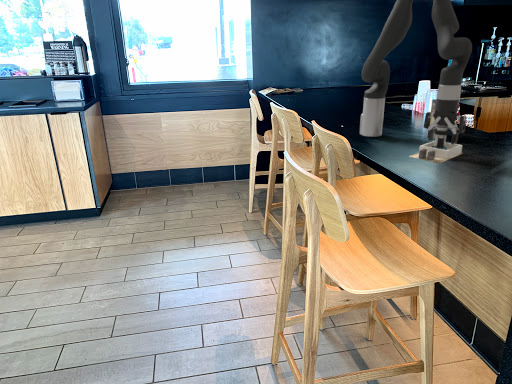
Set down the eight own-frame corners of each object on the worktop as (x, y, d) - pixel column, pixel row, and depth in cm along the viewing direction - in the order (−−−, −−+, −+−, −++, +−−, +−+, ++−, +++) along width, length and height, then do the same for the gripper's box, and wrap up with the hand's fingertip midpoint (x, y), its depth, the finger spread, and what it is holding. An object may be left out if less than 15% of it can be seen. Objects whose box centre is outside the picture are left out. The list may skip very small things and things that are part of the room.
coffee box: (427, 134, 180) (431, 99, 174) (441, 134, 179) (447, 99, 173) (431, 138, 171) (436, 102, 166) (446, 138, 170) (452, 102, 164)
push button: (446, 151, 147) (451, 125, 143) (452, 155, 142) (456, 128, 139) (428, 151, 148) (432, 125, 144) (433, 155, 143) (437, 128, 139)
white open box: (418, 153, 146) (419, 145, 145) (433, 147, 153) (434, 140, 151) (446, 159, 138) (447, 151, 137) (461, 152, 145) (462, 145, 144)
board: (407, 159, 143) (409, 148, 142) (431, 150, 154) (433, 140, 152) (439, 166, 134) (441, 154, 133) (462, 156, 145) (464, 145, 143)
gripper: (473, 98, 135) (465, 143, 141) (433, 94, 145) (428, 137, 151) (463, 100, 131) (456, 147, 136) (423, 97, 141) (418, 140, 147)
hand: (441, 141), depth 144 cm, fingers open, 8 cm apart
